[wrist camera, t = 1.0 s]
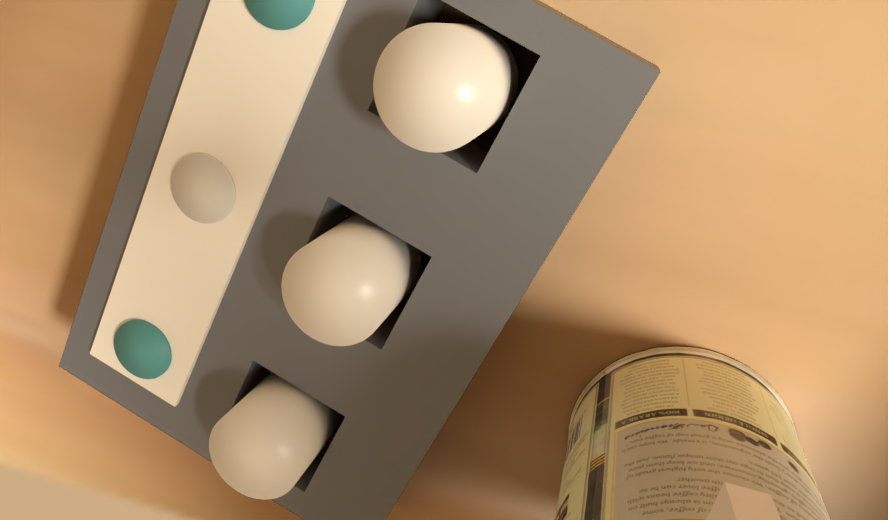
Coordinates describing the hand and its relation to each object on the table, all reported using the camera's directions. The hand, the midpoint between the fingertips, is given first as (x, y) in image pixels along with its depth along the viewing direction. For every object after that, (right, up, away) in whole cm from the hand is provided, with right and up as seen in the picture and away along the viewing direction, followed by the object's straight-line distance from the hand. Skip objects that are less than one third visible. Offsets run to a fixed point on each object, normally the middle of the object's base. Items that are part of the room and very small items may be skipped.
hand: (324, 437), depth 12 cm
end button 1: (+3, +10, +17) cm, 21 cm away
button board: (-3, +5, +22) cm, 23 cm away
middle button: (-1, +3, +21) cm, 21 cm away
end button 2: (-5, -4, +24) cm, 25 cm away
